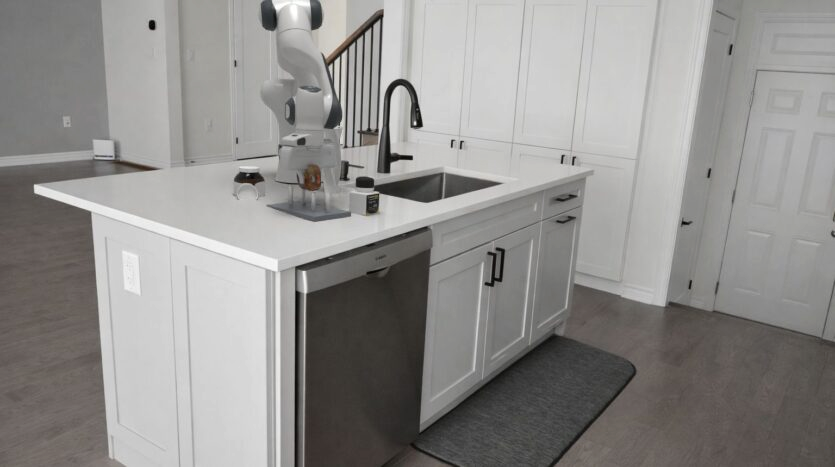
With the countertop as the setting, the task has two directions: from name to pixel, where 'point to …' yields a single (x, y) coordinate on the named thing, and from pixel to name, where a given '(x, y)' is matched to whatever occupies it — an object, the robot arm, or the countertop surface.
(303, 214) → the pin tray
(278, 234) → the countertop surface
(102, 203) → the countertop surface
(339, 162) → the skyscraper
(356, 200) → the medicine bottle
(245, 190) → the spread jar
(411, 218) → the countertop surface
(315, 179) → the tin
